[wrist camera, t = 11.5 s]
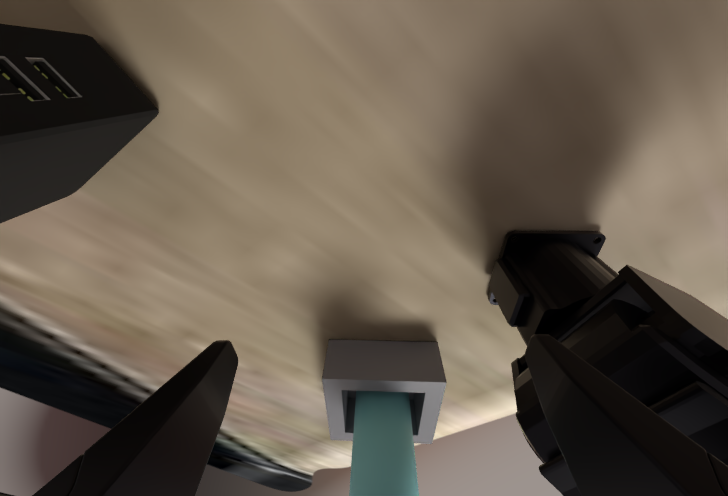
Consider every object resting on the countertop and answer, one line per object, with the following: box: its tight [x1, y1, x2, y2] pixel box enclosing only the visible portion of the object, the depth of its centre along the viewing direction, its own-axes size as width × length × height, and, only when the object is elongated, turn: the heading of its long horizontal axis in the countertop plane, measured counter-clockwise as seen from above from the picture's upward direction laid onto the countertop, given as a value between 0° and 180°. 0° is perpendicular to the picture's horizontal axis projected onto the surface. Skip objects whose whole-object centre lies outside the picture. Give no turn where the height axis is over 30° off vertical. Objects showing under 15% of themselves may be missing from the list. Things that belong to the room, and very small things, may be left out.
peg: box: [349, 391, 419, 496], centre depth 23 cm, size 6×6×13 cm
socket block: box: [322, 339, 447, 444], centre depth 27 cm, size 10×10×4 cm
